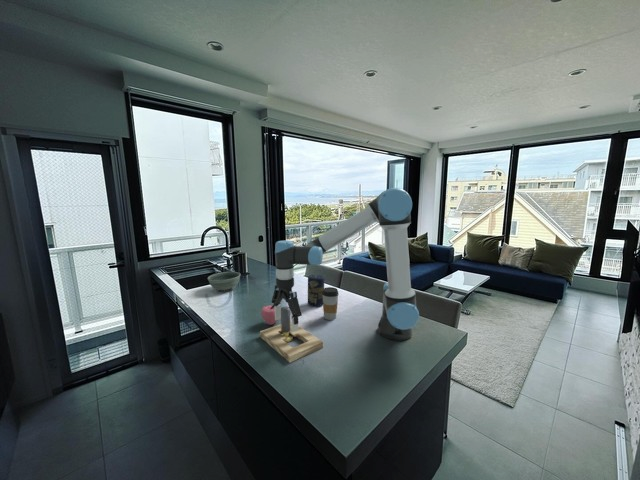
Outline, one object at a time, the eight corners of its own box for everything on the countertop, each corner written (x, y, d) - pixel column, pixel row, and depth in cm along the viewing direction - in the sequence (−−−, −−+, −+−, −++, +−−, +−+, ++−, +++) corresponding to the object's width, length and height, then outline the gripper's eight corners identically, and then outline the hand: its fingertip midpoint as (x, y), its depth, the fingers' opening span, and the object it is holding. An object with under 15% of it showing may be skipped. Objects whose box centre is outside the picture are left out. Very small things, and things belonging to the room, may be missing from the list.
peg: (295, 339, 114) (295, 308, 112) (283, 344, 110) (283, 312, 108) (288, 333, 118) (287, 304, 116) (276, 338, 115) (275, 307, 112)
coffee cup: (337, 321, 130) (337, 293, 128) (320, 320, 132) (320, 291, 130) (339, 314, 138) (339, 287, 136) (323, 313, 140) (323, 286, 138)
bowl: (235, 295, 166) (234, 280, 164) (202, 295, 166) (201, 279, 164) (245, 284, 186) (244, 271, 185) (215, 284, 186) (215, 271, 185)
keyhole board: (322, 347, 107) (322, 341, 107) (289, 362, 97) (289, 356, 97) (290, 326, 126) (290, 320, 125) (260, 336, 116) (259, 331, 115)
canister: (304, 306, 149) (304, 275, 147) (311, 300, 158) (311, 271, 155) (320, 308, 146) (320, 277, 143) (326, 302, 155) (326, 273, 152)
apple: (274, 317, 134) (273, 299, 133) (284, 323, 128) (284, 304, 127) (258, 323, 128) (257, 304, 126) (267, 330, 122) (267, 309, 120)
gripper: (310, 282, 103) (310, 333, 106) (277, 269, 122) (278, 313, 125) (294, 286, 98) (295, 339, 101) (262, 272, 117) (264, 317, 120)
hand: (286, 324), depth 113 cm, fingers open, 13 cm apart
